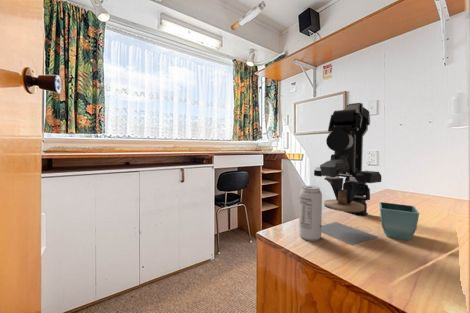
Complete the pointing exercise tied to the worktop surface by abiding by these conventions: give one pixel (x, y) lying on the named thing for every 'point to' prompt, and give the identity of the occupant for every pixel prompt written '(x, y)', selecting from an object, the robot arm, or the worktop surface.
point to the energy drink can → (310, 213)
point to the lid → (343, 203)
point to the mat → (346, 233)
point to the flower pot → (398, 220)
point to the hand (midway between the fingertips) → (343, 202)
